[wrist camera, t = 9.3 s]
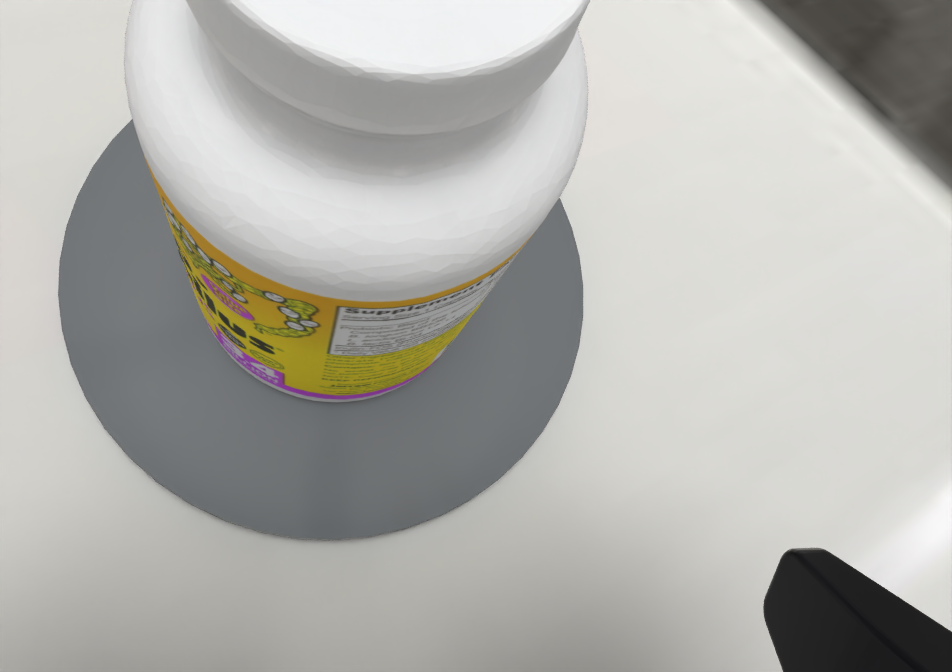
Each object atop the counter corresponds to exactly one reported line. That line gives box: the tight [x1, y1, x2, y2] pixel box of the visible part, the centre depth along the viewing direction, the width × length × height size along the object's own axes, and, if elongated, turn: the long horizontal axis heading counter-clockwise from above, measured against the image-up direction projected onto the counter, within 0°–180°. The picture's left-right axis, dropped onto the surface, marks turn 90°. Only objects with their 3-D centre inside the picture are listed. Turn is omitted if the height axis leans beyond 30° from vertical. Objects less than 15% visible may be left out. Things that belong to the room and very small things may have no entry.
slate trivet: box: [58, 119, 583, 540], centre depth 21 cm, size 13×13×1 cm
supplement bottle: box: [124, 0, 590, 402], centre depth 14 cm, size 7×7×13 cm
